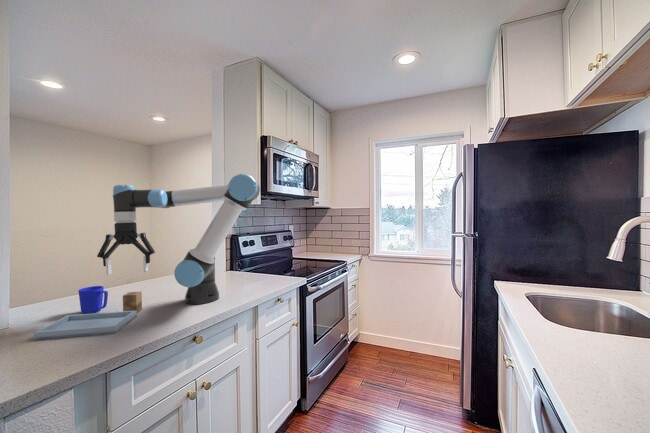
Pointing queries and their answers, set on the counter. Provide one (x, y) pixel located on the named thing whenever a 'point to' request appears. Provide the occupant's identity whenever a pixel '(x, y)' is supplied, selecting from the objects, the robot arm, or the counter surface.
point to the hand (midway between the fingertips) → (127, 272)
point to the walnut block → (132, 301)
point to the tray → (86, 325)
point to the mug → (92, 299)
